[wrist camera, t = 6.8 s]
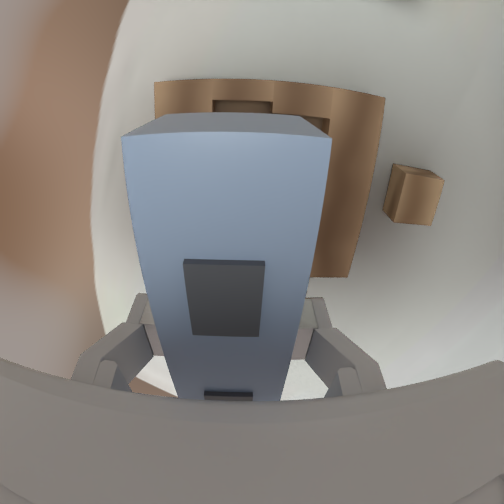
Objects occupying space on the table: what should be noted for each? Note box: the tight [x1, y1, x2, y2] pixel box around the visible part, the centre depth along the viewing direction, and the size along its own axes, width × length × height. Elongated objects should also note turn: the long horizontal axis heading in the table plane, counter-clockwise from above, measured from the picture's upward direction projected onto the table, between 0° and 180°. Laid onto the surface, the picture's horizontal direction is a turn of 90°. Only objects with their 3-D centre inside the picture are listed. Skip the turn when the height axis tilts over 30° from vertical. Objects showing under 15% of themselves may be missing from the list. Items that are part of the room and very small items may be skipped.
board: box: [154, 79, 385, 277], centre depth 22 cm, size 16×16×3 cm
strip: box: [121, 112, 332, 401], centre depth 11 cm, size 4×14×5 cm, turn 178°
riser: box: [383, 164, 444, 226], centre depth 23 cm, size 4×5×2 cm
